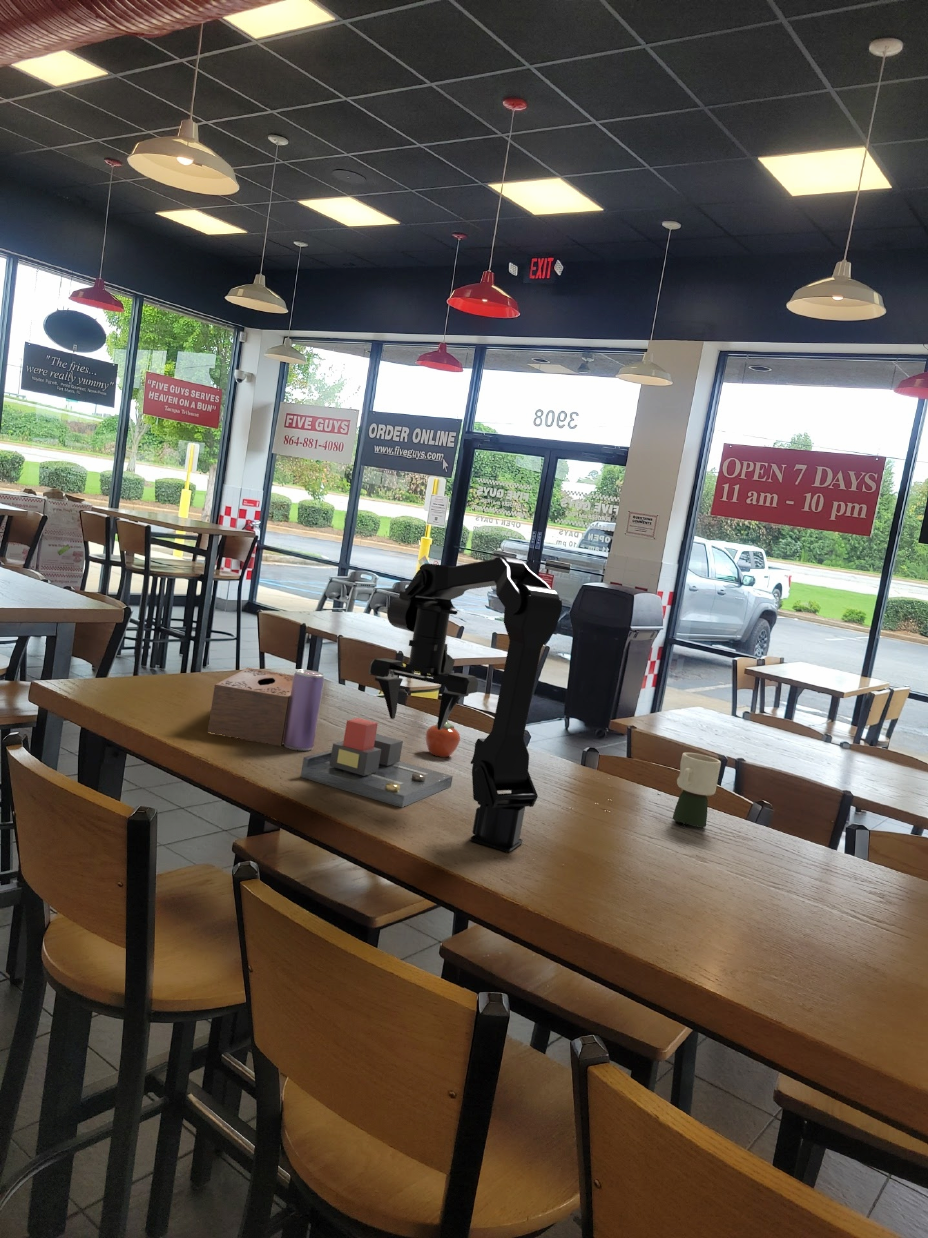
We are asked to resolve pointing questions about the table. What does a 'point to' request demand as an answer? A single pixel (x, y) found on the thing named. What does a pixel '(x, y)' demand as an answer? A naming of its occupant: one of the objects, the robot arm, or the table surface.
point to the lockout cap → (360, 734)
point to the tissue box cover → (252, 706)
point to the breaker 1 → (355, 759)
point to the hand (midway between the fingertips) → (415, 724)
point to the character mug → (696, 788)
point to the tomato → (442, 740)
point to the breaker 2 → (388, 749)
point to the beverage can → (303, 710)
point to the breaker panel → (378, 780)
